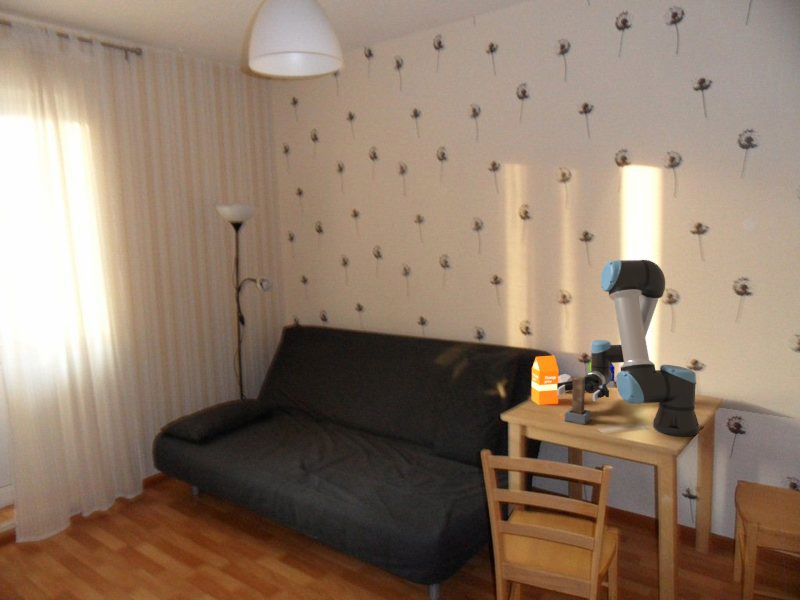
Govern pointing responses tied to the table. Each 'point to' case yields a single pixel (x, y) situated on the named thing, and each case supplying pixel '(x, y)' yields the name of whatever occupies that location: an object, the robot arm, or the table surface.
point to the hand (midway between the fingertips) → (575, 394)
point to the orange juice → (545, 380)
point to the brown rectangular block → (578, 395)
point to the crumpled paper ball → (564, 379)
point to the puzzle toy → (611, 383)
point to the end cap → (578, 417)
